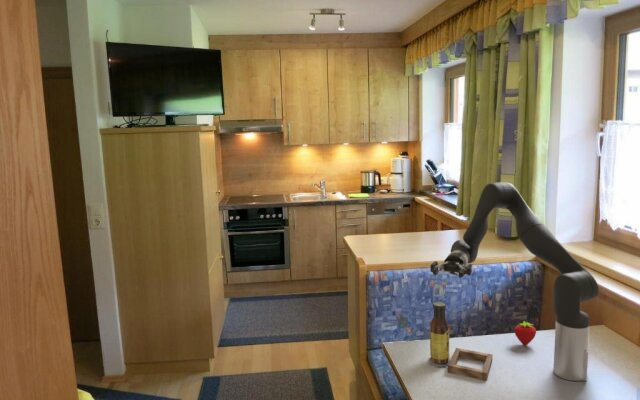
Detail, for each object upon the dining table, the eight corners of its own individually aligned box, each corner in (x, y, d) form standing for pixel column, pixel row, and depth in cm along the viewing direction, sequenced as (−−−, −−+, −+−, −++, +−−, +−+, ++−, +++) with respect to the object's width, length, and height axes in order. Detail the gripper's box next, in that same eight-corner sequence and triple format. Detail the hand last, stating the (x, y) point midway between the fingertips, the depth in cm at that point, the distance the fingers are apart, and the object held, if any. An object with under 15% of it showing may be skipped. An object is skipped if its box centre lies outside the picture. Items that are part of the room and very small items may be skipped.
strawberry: (510, 342, 170) (511, 316, 169) (530, 340, 171) (531, 314, 169) (518, 349, 165) (519, 323, 163) (539, 348, 165) (540, 321, 164)
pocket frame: (492, 361, 157) (492, 354, 157) (486, 380, 146) (487, 373, 146) (455, 354, 163) (456, 347, 162) (448, 372, 151) (448, 365, 151)
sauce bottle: (451, 364, 155) (452, 307, 152) (432, 365, 155) (432, 308, 152) (446, 355, 161) (447, 300, 158) (428, 355, 161) (428, 300, 158)
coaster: (452, 359, 160) (452, 357, 159) (447, 369, 153) (447, 367, 153) (431, 355, 163) (431, 353, 163) (426, 365, 157) (426, 363, 156)
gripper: (437, 250, 180) (426, 261, 166) (475, 253, 174) (468, 265, 159) (437, 269, 181) (427, 282, 167) (475, 273, 175) (468, 286, 161)
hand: (447, 273), depth 163 cm, fingers open, 8 cm apart
